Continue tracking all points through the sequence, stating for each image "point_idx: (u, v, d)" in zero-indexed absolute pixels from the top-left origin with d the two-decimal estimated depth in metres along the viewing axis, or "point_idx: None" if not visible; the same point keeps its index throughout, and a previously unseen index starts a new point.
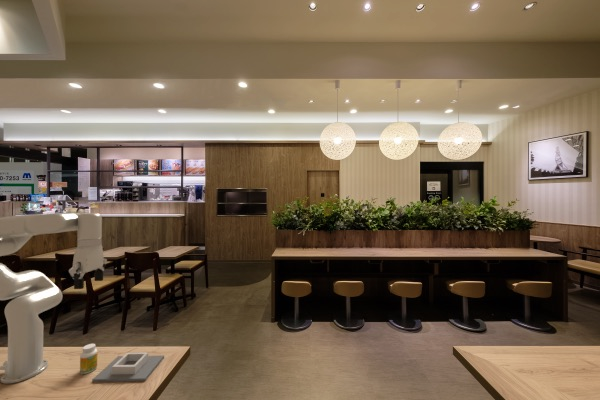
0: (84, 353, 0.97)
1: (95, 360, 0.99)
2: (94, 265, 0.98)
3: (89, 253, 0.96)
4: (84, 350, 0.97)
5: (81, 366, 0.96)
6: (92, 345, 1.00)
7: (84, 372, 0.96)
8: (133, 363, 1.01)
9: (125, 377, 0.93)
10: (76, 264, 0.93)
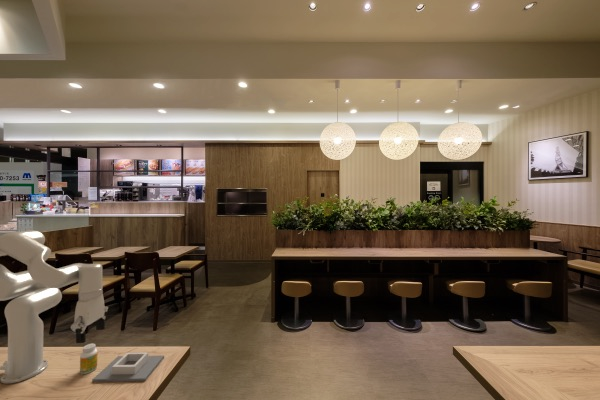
0: (84, 353, 0.97)
1: (95, 360, 0.99)
2: (95, 316, 0.99)
3: (90, 306, 0.96)
4: (84, 350, 0.97)
5: (81, 366, 0.96)
6: (92, 345, 1.00)
7: (84, 372, 0.96)
8: (133, 363, 1.01)
9: (125, 377, 0.93)
10: (78, 319, 0.93)
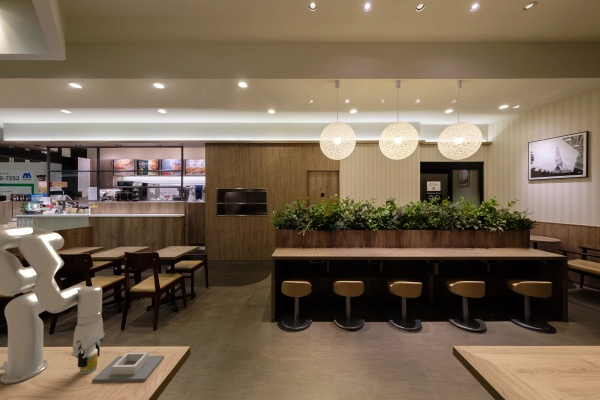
0: None
1: (95, 360, 0.99)
2: (94, 340, 0.99)
3: (89, 330, 0.96)
4: None
5: None
6: (92, 345, 1.00)
7: (84, 372, 0.96)
8: (133, 363, 1.01)
9: (125, 377, 0.93)
10: (77, 345, 0.94)
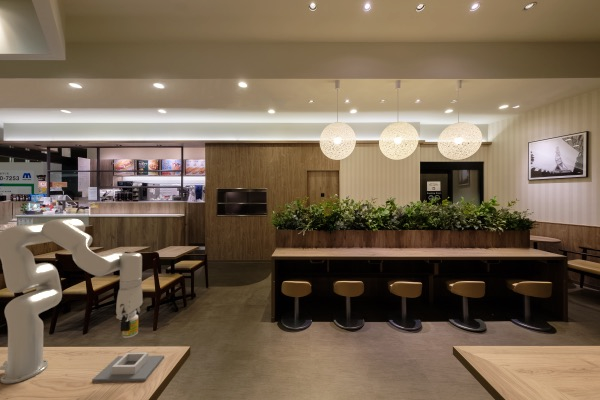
0: None
1: (136, 325, 1.00)
2: (135, 305, 1.00)
3: (132, 295, 0.97)
4: None
5: None
6: None
7: (127, 336, 0.97)
8: (133, 363, 1.01)
9: (125, 377, 0.93)
10: (121, 308, 0.94)
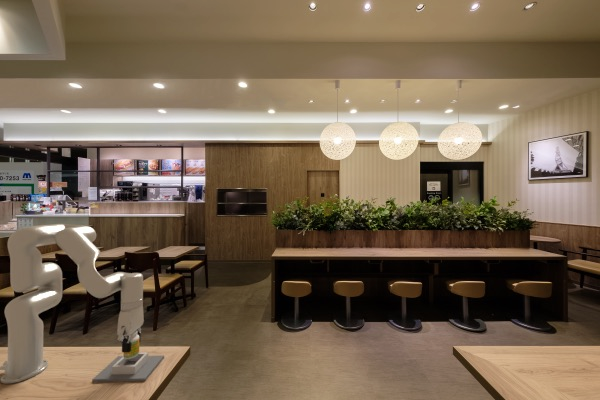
0: None
1: (138, 345, 1.00)
2: (136, 326, 1.00)
3: (133, 316, 0.97)
4: None
5: None
6: None
7: (128, 357, 0.97)
8: (133, 363, 1.01)
9: (125, 377, 0.93)
10: (122, 330, 0.94)
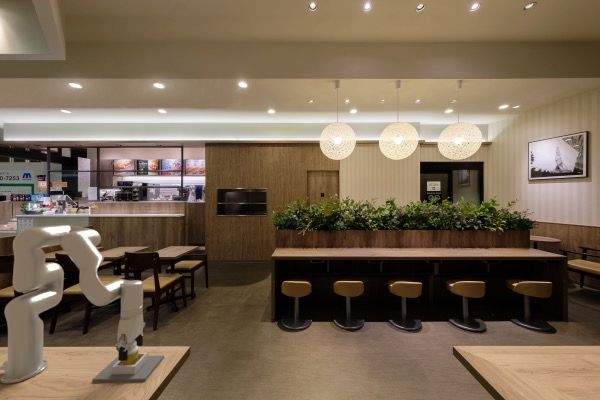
0: None
1: (137, 357, 1.00)
2: (136, 333, 0.99)
3: (132, 324, 0.97)
4: None
5: (124, 363, 0.97)
6: (133, 342, 1.00)
7: None
8: None
9: (125, 377, 0.93)
10: (121, 336, 0.94)
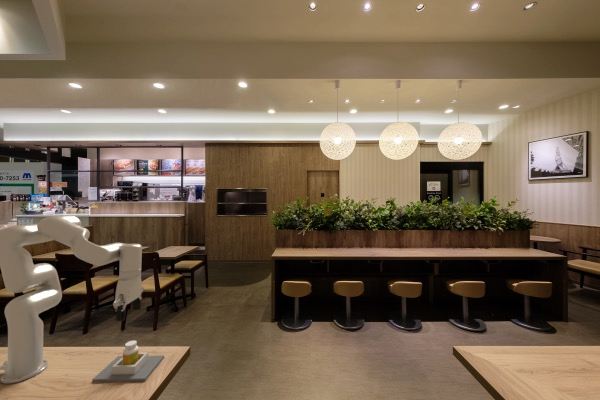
0: (127, 350, 0.98)
1: (137, 357, 1.00)
2: (134, 296, 1.00)
3: (131, 285, 0.97)
4: (127, 347, 0.98)
5: (124, 363, 0.97)
6: (133, 342, 1.00)
7: None
8: None
9: (125, 377, 0.93)
10: (119, 296, 0.94)
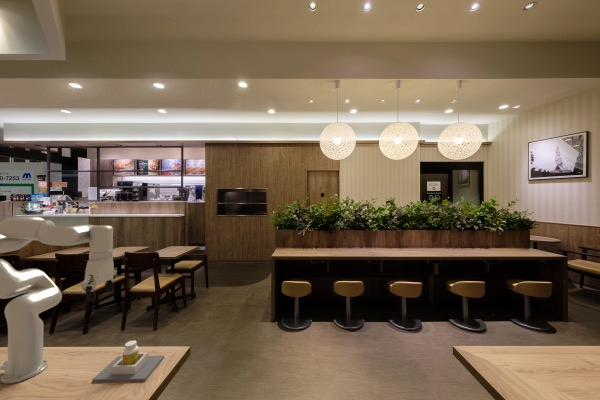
0: (126, 350, 0.98)
1: (137, 357, 1.00)
2: (105, 277, 0.99)
3: (101, 266, 0.97)
4: (126, 347, 0.98)
5: (124, 363, 0.97)
6: (133, 342, 1.00)
7: None
8: None
9: (125, 377, 0.93)
10: (88, 277, 0.94)
